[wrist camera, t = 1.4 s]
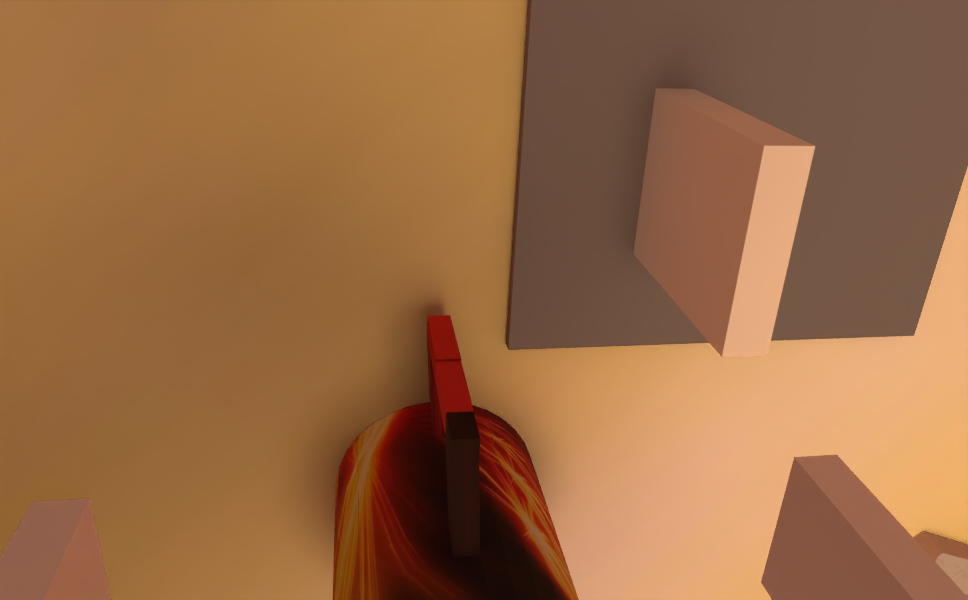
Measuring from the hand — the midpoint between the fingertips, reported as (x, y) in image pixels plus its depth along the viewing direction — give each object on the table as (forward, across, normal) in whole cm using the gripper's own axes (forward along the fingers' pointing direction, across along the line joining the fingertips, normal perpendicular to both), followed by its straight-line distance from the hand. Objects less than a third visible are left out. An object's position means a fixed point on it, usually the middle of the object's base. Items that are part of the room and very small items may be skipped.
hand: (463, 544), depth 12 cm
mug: (+21, +1, -14) cm, 25 cm away
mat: (+21, +15, 0) cm, 26 cm away
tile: (+20, +11, 0) cm, 23 cm away
